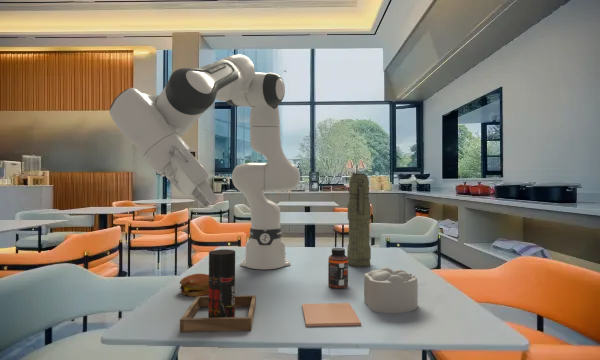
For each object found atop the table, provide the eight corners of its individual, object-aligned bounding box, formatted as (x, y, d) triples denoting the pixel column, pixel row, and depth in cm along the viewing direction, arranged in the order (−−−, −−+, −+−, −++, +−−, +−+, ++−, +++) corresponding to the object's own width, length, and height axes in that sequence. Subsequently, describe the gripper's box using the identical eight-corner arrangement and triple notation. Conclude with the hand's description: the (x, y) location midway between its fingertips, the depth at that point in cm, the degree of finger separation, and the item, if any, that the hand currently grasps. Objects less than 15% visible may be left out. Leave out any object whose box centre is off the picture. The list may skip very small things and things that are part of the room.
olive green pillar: (351, 268, 121) (351, 173, 122) (344, 261, 133) (344, 174, 134) (375, 268, 122) (375, 173, 123) (365, 260, 134) (365, 174, 135)
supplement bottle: (347, 290, 96) (347, 251, 97) (327, 288, 98) (327, 250, 98) (348, 284, 102) (348, 247, 102) (329, 282, 103) (329, 246, 104)
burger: (216, 286, 100) (216, 270, 100) (214, 296, 91) (214, 279, 91) (182, 288, 98) (182, 272, 98) (176, 298, 89) (176, 281, 89)
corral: (197, 306, 83) (197, 296, 83) (255, 305, 84) (255, 295, 84) (179, 332, 68) (179, 319, 68) (250, 330, 69) (251, 318, 69)
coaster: (302, 306, 83) (302, 303, 83) (349, 305, 84) (349, 303, 84) (306, 326, 71) (306, 323, 71) (361, 325, 72) (361, 322, 72)
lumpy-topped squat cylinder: (361, 298, 89) (361, 266, 90) (408, 297, 90) (408, 265, 90) (372, 313, 79) (372, 276, 79) (425, 312, 80) (425, 276, 80)
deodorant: (210, 312, 79) (211, 249, 79) (236, 312, 79) (236, 249, 79) (205, 323, 73) (206, 254, 73) (233, 322, 73) (233, 254, 74)
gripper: (185, 133, 64) (231, 188, 66) (179, 158, 83) (215, 200, 85) (157, 152, 62) (206, 208, 64) (157, 173, 80) (195, 216, 82)
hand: (211, 203), depth 74 cm, fingers open, 8 cm apart
